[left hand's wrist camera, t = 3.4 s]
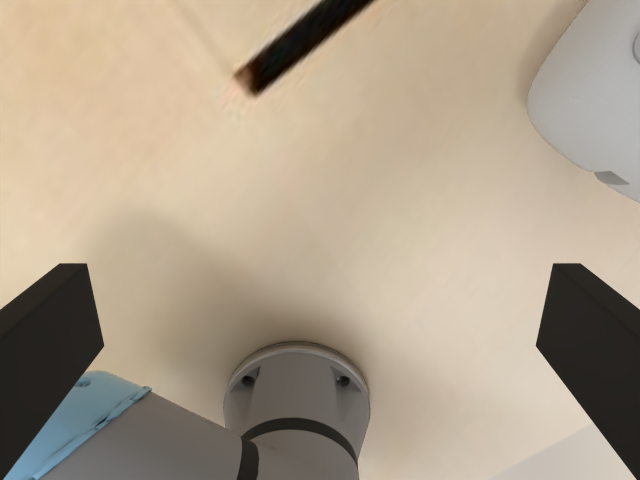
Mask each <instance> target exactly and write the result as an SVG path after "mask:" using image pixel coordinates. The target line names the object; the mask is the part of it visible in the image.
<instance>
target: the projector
mask: <svg viewBox="0 0 640 480" xmlns="http://www.w3.org/2000/svg"><path fill="white" fill-rule="evenodd" d="M527 111H528V115H529V118H530V121H531V123H532V125H533V126H534V128H535V129H536V130H537V131H538V133H539V134H540V135H541V136H542V137H543V138H544V139H545V140H546V141H547V142H548V143H549V144H550V145H551V146H552V147H553V148H555V149H556V150H557V151H558V152H559V153H561V154H562V155H563V156H565V157H566V158H567V159H569V160H570V161H571V162H573V163H574V164H576V165H577V166H579V167H580V168H582V169H584V170H587V171H591V172H594V174H595V176H596V177H597V179H599V180H600V181H601V182H603V183H604V184H606V185H607V186H609V187H611V188H612V189H614V190H616V191H617V192H619V193H621V194H623V195H624V196H626V197H628V198H631V199H633V200H635V201H637V202H640V0H589V1H588V3H587V4H586V5H585V6H584V8H583V9H582V10H581V11H580V13H579V14H578V15H577V16H576V18H575V19H574V20H573V22H572V23H571V24H570V26H569V27H568V28H567V30H566V31H565V32H564V34H563V35H562V36H561V38H560V39H559V40H558V42H557V43H556V45H555V46H554V48H553V49H552V50H551V52H550V53H549V55H548V56H547V58H546V59H545V61H544V63H543V64H542V66H541V67H540V69H539V71H538V73H537V74H536V76H535V78H534V80H533V82H532V84H531V87H530V90H529V92H528V97H527Z"/></svg>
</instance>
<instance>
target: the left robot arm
mask: <svg viewBox="0 0 640 480" xmlns="http://www.w3.org/2000/svg"><path fill="white" fill-rule="evenodd" d="M103 347H104V342H103V338H102V333H101V328H100V323H99V319H98V314H97V309H96V305H95V300H94V295H93V290H92V286H91V281H90V276H89V272H88V267H87V263H60V264H58V265H57V266H56V267H54V268H53V269H52V270H51V271H49V272H48V273H47V274H45V275H44V276H43V277H42V278H40V279H39V280H38V281H36V282H35V283H34V284H33V285H31V286H30V287H29V288H28V289H26V290H25V291H24V292H22V293H21V294H20V295H19V296H17V297H16V298H15V299H13V300H12V301H11V302H10V303H8V304H7V305H6V306H4V307H3V308H2V309H1V310H0V480H359V473H358V462H357V461H358V457H359V454H360V450H361V447H362V444H363V440H364V437H365V433H366V430H367V427H368V423H369V419H370V402H369V395H368V389H367V386H366V383H365V380H364V378H363V376H362V374H361V373H360V371H359V370H358V369H357V368H356V366H355V365H354V364H353V363H352V362H351V361H350V360H348V359H347V358H346V357H345V356H343V355H342V354H340V353H338V352H336V351H334V350H333V349H330V348H328V347H325V346H322V345H319V344H314V343H308V342H285V343H279V344H274V345H271V346H268V347H265V348H263V349H260V350H258V351H257V352H255V353H253V354H252V355H250V356H249V357H247V358H246V359H245V360H244V361H243V362H242V363H241V364H240V365H239V366H238V367H237V369H236V370H235V371H234V373H233V375H232V377H231V379H230V381H229V384H228V388H227V391H226V395H225V399H224V406H223V410H224V419H225V425H226V428H224V427H222V426H220V425H218V424H215V423H213V422H211V421H209V420H207V419H205V418H203V417H201V416H199V415H197V414H195V413H192V412H190V411H188V410H186V409H184V408H182V407H180V406H178V405H176V404H174V403H172V402H170V401H168V400H166V399H165V398H163V397H161V396H159V395H157V394H155V393H153V392H151V390H152V388H150V387H148V386H145V387H141V386H139V385H136V384H134V383H132V382H129V381H127V380H124V379H122V378H120V377H117V376H115V375H113V374H110V373H108V372H104V371H90V372H86V373H84V372H85V371H86V369H87V368H88V367H89V365H90V364H91V363H92V361H93V360H94V359H95V357H96V356H97V355H98V354H99V352H100V351H101V350H102V348H103ZM536 347H537V348H538V350H539V351H540V352H541V354H542V355H543V356H544V357H545V359H546V360H547V361H548V363H549V364H550V365H551V367H552V368H553V369H554V371H555V372H556V373H557V375H558V376H559V377H560V379H561V380H562V381H563V383H564V384H565V385H566V387H567V388H568V389H569V391H570V392H571V393H572V395H573V396H574V397H575V399H576V400H577V401H578V403H579V404H580V405H581V406H582V408H583V409H584V410H585V412H586V413H587V414H588V416H589V417H590V418H591V420H592V421H593V422H594V424H595V425H596V426H597V428H598V429H599V430H600V432H601V433H602V434H603V436H604V437H605V438H606V440H607V441H608V442H609V444H610V445H611V446H612V448H613V449H614V450H615V451H616V453H617V454H618V455H619V457H620V458H621V459H622V461H623V462H624V463H625V465H626V466H627V467H628V469H629V470H630V471H631V473H632V474H633V475H634V477H635V478H636V479H637V480H640V310H639V309H638V308H637V307H636V306H634V305H633V304H632V303H630V302H629V301H628V300H627V299H625V298H624V297H623V296H621V295H620V294H619V293H618V292H616V291H615V290H614V289H612V288H611V287H610V286H609V285H607V284H606V283H605V282H604V281H602V280H601V279H600V278H598V277H597V276H596V275H595V274H593V273H592V272H591V271H589V270H588V269H587V268H586V267H584V266H583V265H582V264H580V263H553V267H552V272H551V276H550V281H549V286H548V290H547V295H546V300H545V305H544V309H543V314H542V319H541V323H540V328H539V333H538V338H537V342H536Z"/></svg>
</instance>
